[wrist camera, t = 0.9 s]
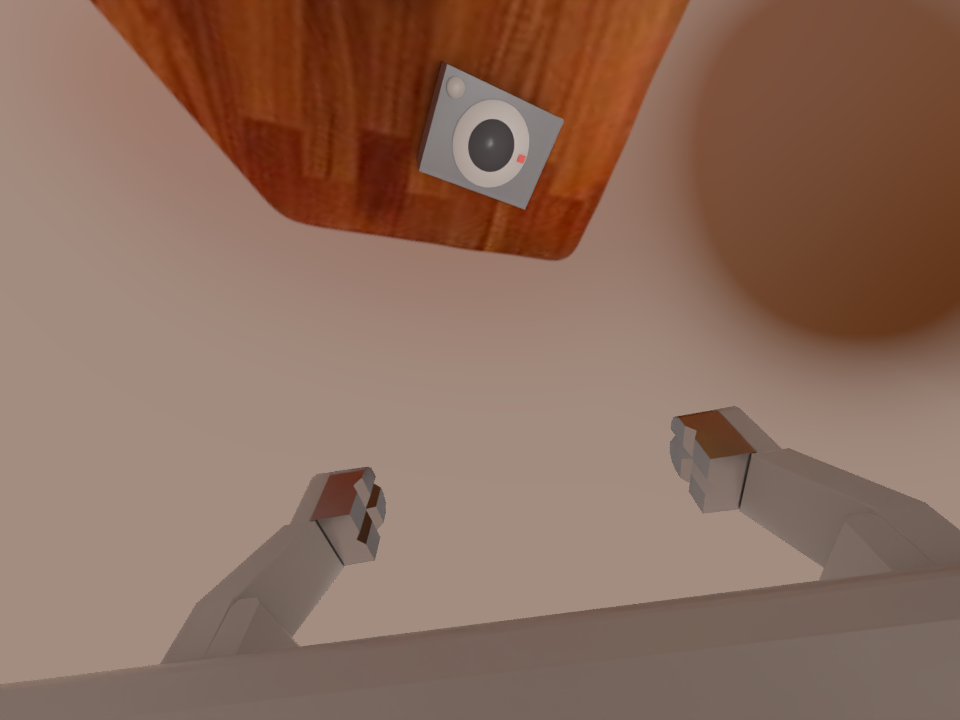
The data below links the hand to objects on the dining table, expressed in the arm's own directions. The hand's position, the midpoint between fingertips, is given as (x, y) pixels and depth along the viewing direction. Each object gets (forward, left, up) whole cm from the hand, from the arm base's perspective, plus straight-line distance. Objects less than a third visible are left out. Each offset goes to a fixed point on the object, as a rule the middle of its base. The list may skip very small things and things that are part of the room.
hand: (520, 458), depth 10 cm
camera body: (+5, +3, -41) cm, 41 cm away
